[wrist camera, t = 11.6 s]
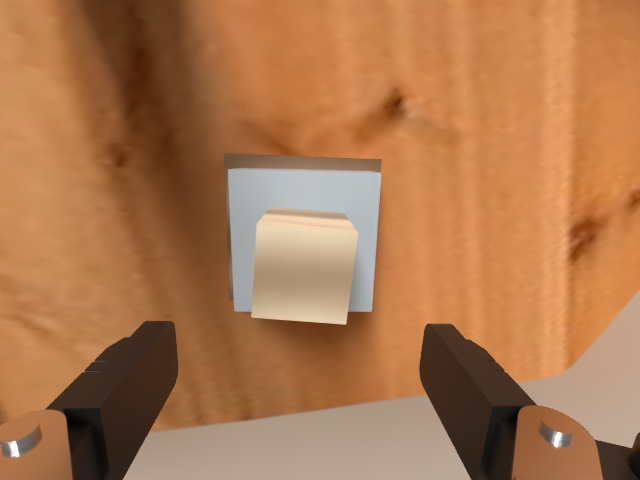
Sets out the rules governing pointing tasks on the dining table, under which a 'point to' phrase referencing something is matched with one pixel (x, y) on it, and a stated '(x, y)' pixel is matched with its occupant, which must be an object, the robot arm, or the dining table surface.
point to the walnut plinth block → (287, 163)
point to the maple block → (303, 265)
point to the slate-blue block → (308, 194)
